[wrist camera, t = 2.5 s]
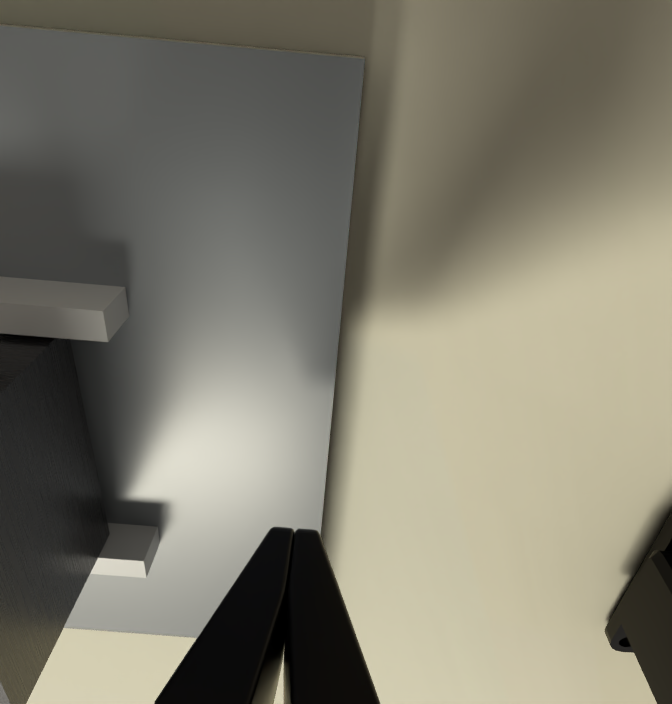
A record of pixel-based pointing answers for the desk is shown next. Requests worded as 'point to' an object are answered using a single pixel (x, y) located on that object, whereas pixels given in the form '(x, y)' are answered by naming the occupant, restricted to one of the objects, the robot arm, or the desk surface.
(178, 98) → the board
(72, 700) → the desk surface
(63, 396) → the grey block
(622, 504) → the desk surface
